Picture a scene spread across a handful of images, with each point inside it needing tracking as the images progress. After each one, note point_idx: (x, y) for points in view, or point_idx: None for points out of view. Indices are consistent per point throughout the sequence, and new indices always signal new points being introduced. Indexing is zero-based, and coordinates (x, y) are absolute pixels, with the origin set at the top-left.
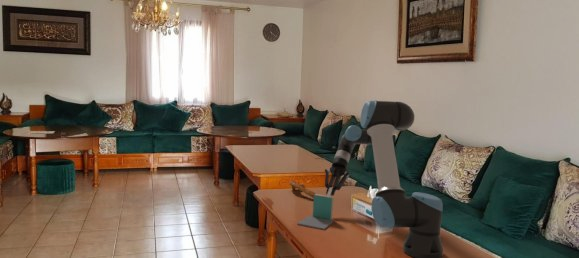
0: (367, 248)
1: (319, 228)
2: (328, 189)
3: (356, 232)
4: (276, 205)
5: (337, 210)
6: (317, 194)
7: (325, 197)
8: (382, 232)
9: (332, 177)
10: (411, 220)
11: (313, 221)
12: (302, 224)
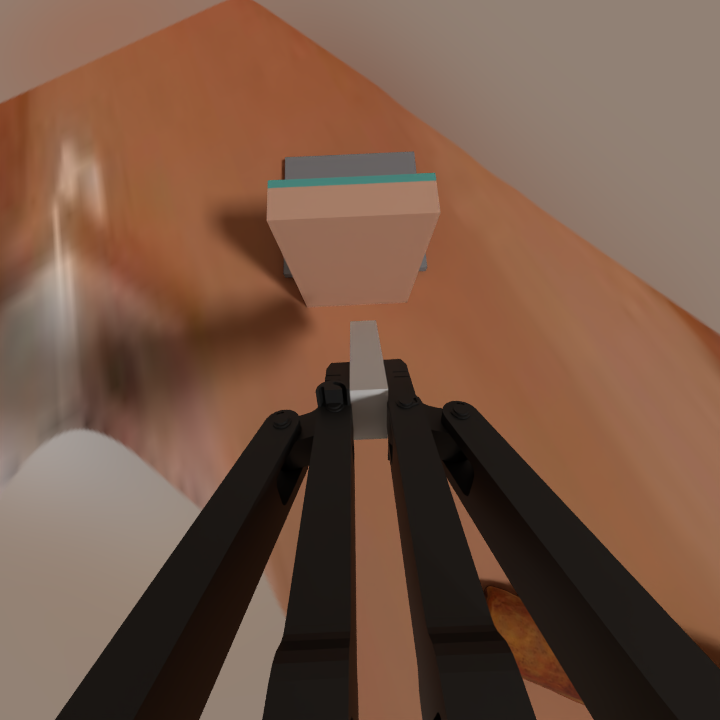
0: (87, 91)
1: (308, 159)
2: (396, 387)
3: (153, 209)
4: (676, 347)
5: None
6: (417, 201)
7: (328, 183)
8: (39, 273)
9: (436, 571)
10: None
11: None
12: (388, 154)
